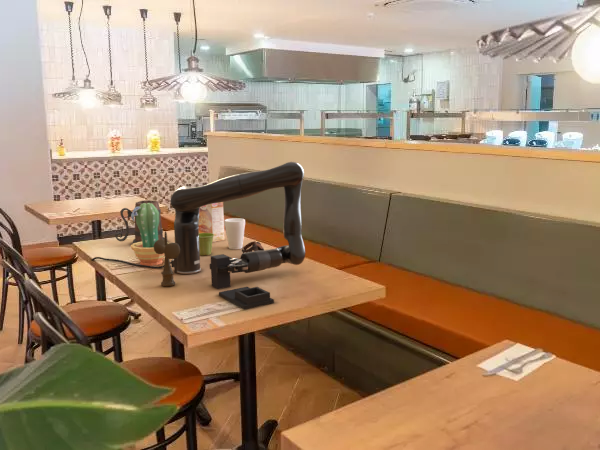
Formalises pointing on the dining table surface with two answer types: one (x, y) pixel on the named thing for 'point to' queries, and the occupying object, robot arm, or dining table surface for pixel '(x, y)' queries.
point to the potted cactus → (147, 234)
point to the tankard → (136, 231)
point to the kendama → (167, 259)
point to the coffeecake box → (212, 220)
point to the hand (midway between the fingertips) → (213, 268)
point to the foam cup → (235, 232)
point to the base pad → (247, 297)
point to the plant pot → (205, 243)
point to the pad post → (220, 278)
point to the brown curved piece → (255, 247)
